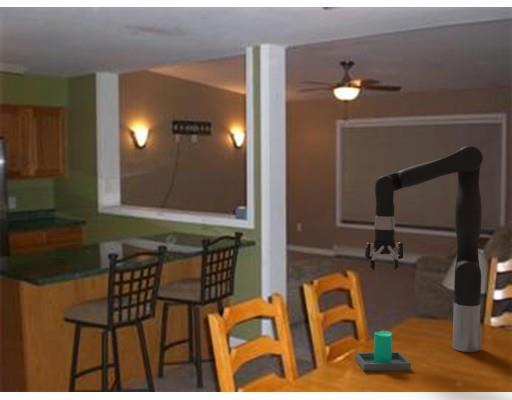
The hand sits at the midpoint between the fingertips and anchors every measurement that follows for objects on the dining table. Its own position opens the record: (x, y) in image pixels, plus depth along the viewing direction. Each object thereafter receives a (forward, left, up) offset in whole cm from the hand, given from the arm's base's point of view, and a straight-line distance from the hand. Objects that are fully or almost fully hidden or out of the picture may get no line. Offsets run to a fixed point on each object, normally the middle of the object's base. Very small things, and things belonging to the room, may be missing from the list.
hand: (383, 269), depth 239 cm
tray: (+8, +26, -28) cm, 39 cm away
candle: (+8, +26, -28) cm, 39 cm away
